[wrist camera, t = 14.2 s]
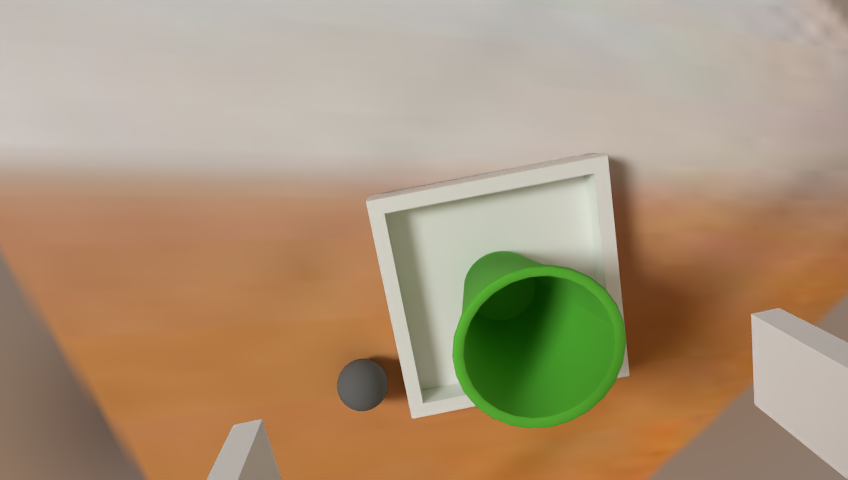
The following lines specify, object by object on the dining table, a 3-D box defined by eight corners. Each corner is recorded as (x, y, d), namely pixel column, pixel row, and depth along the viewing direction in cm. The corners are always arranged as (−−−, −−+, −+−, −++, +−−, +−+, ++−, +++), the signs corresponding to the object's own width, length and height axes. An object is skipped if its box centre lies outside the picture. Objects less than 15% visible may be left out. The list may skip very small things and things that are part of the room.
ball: (335, 355, 38) (329, 379, 35) (382, 346, 38) (381, 368, 35) (345, 398, 39) (340, 425, 36) (392, 389, 39) (392, 415, 36)
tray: (367, 196, 36) (365, 201, 33) (593, 153, 36) (607, 155, 34) (410, 400, 39) (412, 418, 37) (615, 359, 40) (629, 375, 37)
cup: (420, 246, 36) (430, 298, 25) (544, 206, 36) (606, 243, 25) (457, 358, 38) (480, 450, 27) (574, 321, 38) (644, 400, 27)
